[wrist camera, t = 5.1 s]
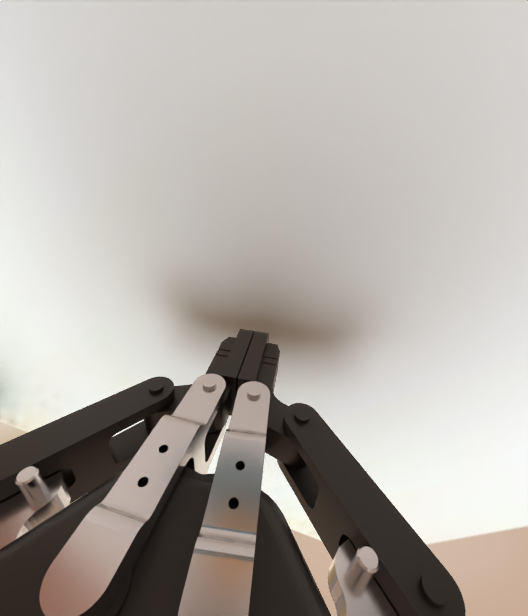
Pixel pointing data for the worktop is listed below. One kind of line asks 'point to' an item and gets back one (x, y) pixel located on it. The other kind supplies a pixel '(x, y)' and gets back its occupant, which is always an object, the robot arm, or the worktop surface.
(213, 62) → the worktop surface
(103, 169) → the worktop surface
